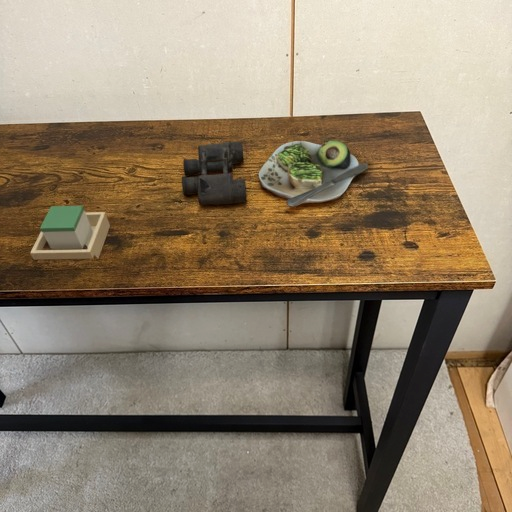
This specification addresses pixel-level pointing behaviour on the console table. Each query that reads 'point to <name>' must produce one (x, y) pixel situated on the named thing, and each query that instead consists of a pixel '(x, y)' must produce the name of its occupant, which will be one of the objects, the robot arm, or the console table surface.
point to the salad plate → (310, 171)
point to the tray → (94, 248)
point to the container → (67, 227)
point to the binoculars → (219, 185)
